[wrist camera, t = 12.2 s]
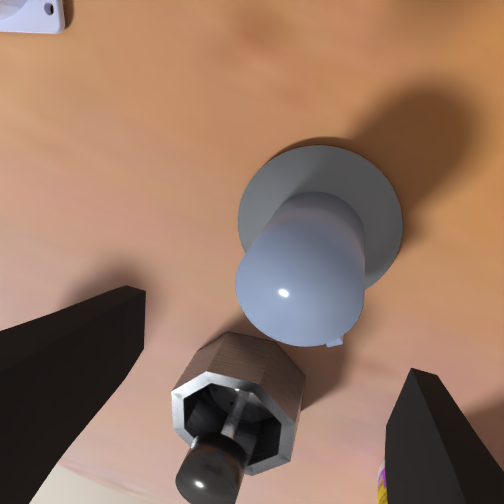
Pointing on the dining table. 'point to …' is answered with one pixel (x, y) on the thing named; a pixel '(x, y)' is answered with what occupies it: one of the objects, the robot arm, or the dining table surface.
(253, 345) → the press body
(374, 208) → the coaster
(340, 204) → the cup
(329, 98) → the dining table surface
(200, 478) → the plunger
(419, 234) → the dining table surface
